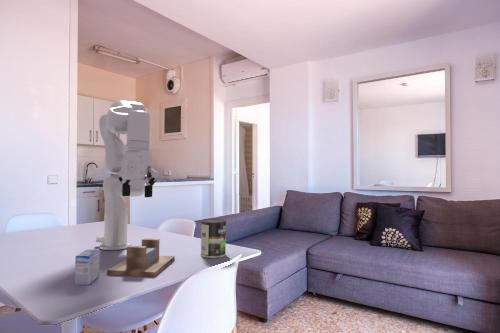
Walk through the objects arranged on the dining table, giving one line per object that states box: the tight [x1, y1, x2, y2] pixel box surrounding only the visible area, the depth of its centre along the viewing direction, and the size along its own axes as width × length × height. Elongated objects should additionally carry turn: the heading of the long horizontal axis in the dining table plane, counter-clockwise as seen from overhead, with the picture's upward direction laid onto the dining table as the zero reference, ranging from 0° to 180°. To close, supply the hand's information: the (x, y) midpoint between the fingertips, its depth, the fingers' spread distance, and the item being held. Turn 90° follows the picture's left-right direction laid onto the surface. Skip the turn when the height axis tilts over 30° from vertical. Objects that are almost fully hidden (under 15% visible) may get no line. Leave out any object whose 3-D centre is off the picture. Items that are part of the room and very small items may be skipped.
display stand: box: [106, 238, 176, 278], centre depth 115 cm, size 16×20×8 cm
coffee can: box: [200, 218, 227, 259], centre depth 133 cm, size 10×10×14 cm
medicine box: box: [74, 249, 101, 286], centre depth 100 cm, size 8×4×9 cm, turn 5°
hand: (137, 196), depth 112 cm, fingers open, 9 cm apart
